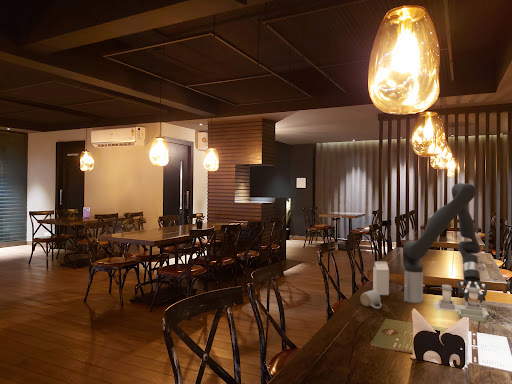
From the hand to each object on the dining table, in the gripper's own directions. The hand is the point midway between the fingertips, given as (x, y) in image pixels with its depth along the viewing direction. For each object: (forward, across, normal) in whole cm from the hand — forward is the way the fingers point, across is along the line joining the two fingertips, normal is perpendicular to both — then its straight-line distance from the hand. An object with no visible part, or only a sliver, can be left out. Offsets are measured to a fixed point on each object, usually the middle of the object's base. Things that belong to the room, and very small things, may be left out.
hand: (473, 301), depth 188 cm
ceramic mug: (+11, -48, -2) cm, 49 cm away
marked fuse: (+2, 0, +5) cm, 5 cm away
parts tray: (+11, -2, -3) cm, 12 cm away
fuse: (+2, -12, +5) cm, 13 cm away
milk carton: (-8, -46, +16) cm, 49 cm away
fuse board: (+3, -6, +5) cm, 9 cm away
